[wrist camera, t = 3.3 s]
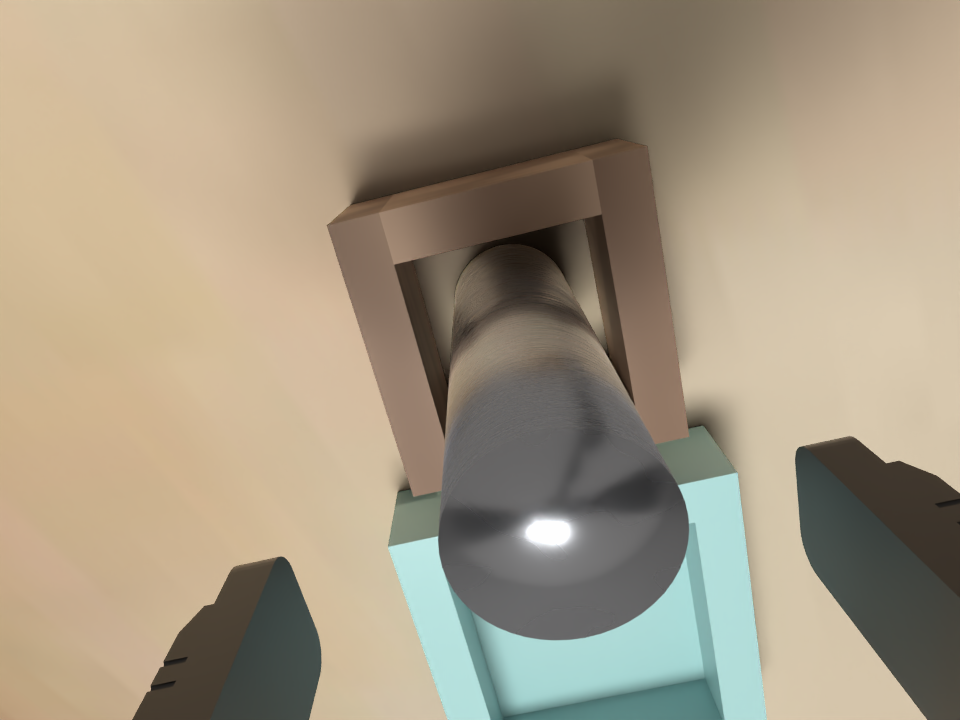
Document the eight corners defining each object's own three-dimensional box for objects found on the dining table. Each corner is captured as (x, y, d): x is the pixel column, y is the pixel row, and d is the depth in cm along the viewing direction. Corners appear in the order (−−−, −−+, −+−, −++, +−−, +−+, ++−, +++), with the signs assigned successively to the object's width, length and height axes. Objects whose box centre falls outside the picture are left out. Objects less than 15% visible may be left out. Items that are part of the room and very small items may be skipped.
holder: (617, 138, 22) (647, 146, 18) (656, 387, 25) (689, 436, 21) (350, 204, 23) (327, 225, 19) (421, 439, 26) (413, 496, 22)
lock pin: (556, 232, 23) (671, 402, 10) (577, 339, 24) (703, 614, 11) (442, 259, 23) (408, 460, 10) (469, 364, 25) (471, 660, 12)
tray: (703, 425, 26) (737, 472, 23) (737, 680, 30) (770, 750, 27) (397, 492, 27) (387, 547, 23) (476, 730, 31) (476, 804, 28)
